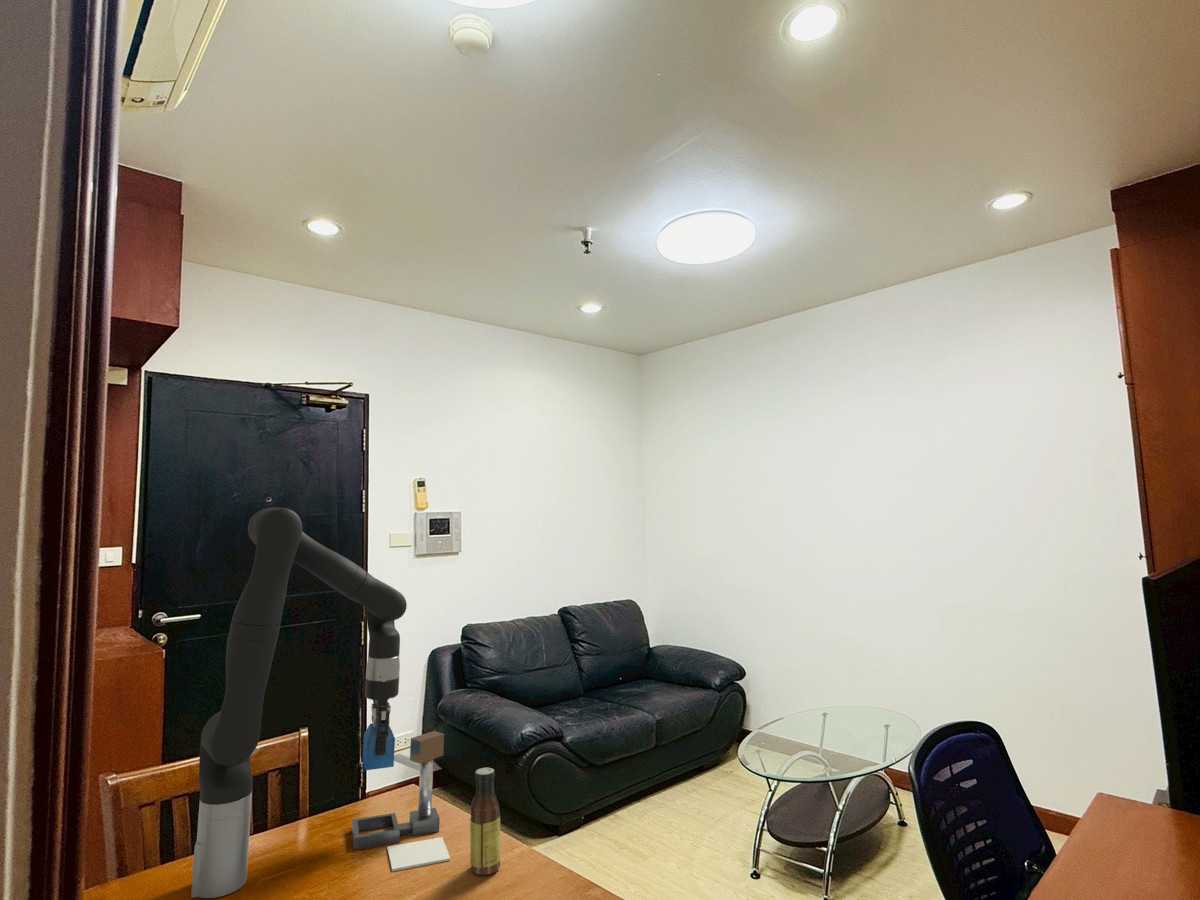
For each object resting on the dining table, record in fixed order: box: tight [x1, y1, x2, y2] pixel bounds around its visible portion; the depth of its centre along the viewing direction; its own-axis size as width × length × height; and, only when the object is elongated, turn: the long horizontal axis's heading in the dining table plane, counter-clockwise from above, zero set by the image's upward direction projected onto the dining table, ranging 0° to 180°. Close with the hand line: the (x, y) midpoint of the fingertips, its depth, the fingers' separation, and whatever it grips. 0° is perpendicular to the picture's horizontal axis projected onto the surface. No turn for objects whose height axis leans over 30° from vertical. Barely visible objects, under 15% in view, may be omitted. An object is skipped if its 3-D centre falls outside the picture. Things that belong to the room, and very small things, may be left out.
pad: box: [387, 836, 451, 873], centre depth 144 cm, size 12×10×1 cm
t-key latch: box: [394, 730, 445, 816], centre depth 161 cm, size 14×7×18 cm, turn 53°
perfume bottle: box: [362, 723, 396, 771], centre depth 154 cm, size 6×6×12 cm
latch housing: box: [351, 807, 441, 851], centre depth 154 cm, size 19×10×3 cm, turn 113°
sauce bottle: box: [469, 767, 502, 876], centre depth 140 cm, size 7×6×20 cm
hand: (378, 749), depth 154 cm, fingers closed on perfume bottle, 6 cm apart
